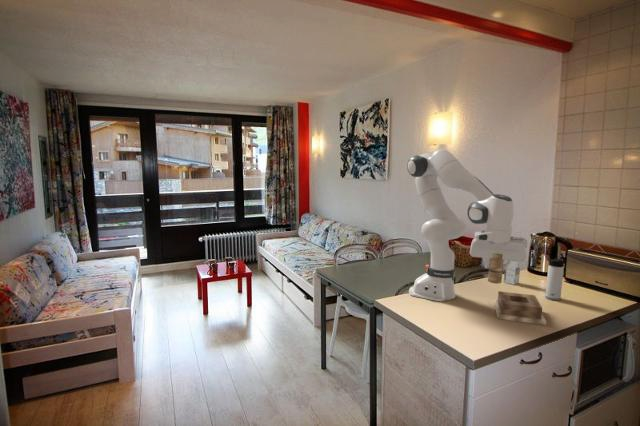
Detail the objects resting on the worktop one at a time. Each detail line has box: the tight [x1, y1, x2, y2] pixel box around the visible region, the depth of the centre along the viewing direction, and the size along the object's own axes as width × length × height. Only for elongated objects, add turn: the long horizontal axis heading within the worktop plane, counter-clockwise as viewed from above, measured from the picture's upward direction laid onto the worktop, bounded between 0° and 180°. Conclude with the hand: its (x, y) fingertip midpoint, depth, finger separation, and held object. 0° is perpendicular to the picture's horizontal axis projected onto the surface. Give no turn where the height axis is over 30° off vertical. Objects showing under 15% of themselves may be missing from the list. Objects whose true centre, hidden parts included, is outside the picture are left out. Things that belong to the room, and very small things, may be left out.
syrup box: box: [503, 260, 522, 286], centre depth 201 cm, size 6×6×14 cm
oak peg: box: [487, 254, 504, 284], centre depth 148 cm, size 5×5×12 cm
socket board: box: [493, 290, 547, 326], centre depth 162 cm, size 18×18×6 cm
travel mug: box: [545, 258, 565, 302], centre depth 178 cm, size 6×7×20 cm
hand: (495, 269), depth 148 cm, fingers closed on oak peg, 5 cm apart
